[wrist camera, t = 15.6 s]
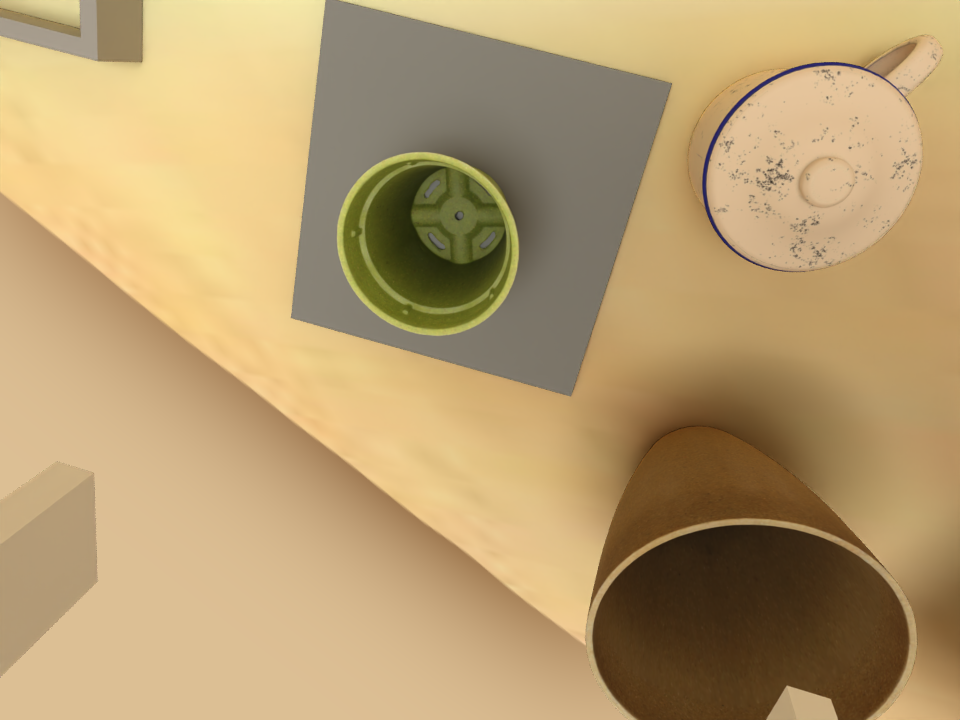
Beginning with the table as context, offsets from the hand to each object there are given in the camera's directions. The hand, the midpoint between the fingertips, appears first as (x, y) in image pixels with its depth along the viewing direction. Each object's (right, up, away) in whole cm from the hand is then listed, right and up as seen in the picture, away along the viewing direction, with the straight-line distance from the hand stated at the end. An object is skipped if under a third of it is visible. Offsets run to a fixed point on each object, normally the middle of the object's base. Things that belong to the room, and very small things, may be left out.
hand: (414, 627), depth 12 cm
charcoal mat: (0, +14, +29) cm, 32 cm away
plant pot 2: (+16, -2, +34) cm, 38 cm away
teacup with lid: (+18, +18, +25) cm, 35 cm away
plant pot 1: (0, +14, +29) cm, 32 cm away
